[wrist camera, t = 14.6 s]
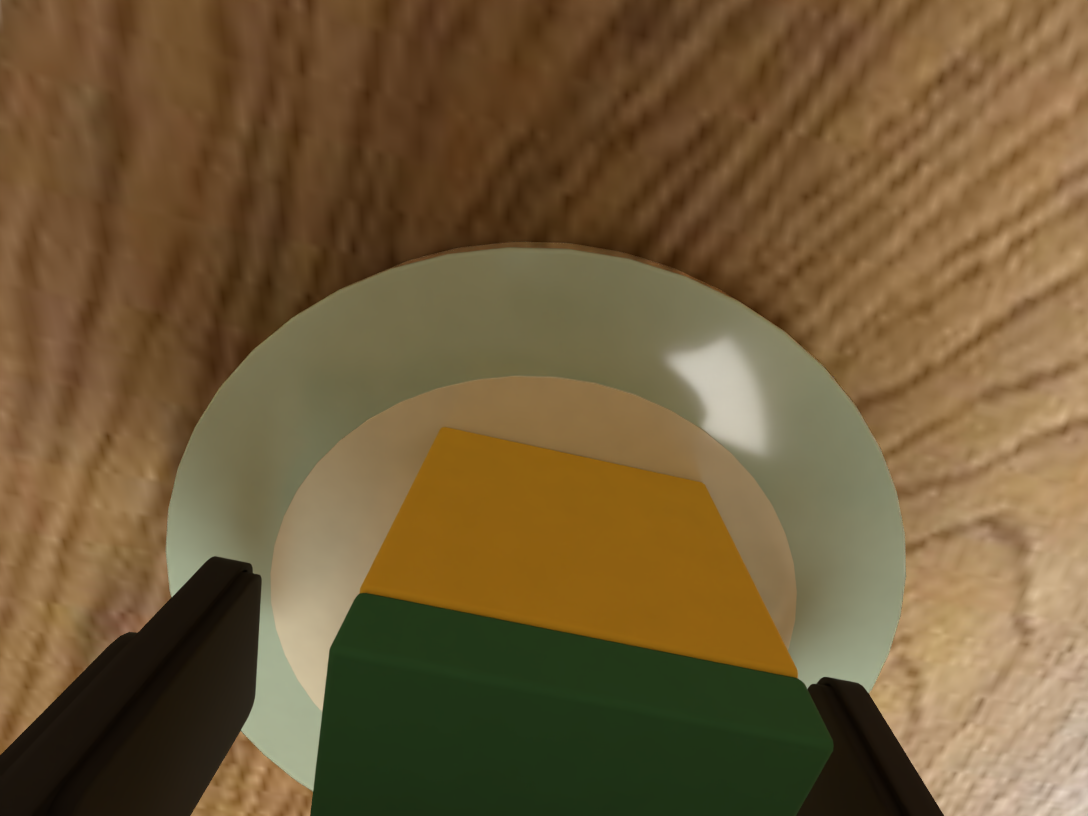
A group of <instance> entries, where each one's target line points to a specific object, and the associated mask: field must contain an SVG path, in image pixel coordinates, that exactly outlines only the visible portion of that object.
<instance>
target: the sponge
mask: <svg viewBox="0 0 1088 816" xmlns="http://www.w3.org/2000/svg"><path fill="white" fill-rule="evenodd" d="M833 747H834V745H833V740H832V738H831V736H830V734H829V732H828V730H827V728H826V726H825V724H824V722H823V720H822V718H821V716H820V714H819V711H818V709H817V707H816V705H815V703H814V701H813V699H812V697H811V695H810V693H809V691H808V689H807V687H806V685H805V684H804V683H803V682H802V681H801V680H799V679H798V670H797V668H796V666H795V664H794V662H793V660H792V658H791V656H790V654H789V652H788V650H787V648H786V646H785V644H784V642H783V640H782V638H781V636H780V634H779V632H778V630H777V628H776V626H775V624H774V622H773V620H772V618H771V616H770V614H769V612H768V610H767V608H766V606H765V604H764V602H763V600H762V598H761V596H760V594H759V592H758V590H757V588H756V586H755V584H754V582H753V580H752V578H751V576H750V574H749V572H748V570H747V568H746V566H745V564H744V562H743V560H742V558H741V556H740V554H739V552H738V550H737V548H736V546H735V544H734V542H733V540H732V538H731V536H730V534H729V532H728V530H727V528H726V526H725V524H724V522H723V520H722V518H721V516H720V514H719V512H718V510H717V508H716V506H715V504H714V502H713V500H712V498H711V496H710V494H709V492H708V490H707V488H706V486H705V484H703V483H702V482H698V481H693V480H689V479H684V478H679V477H675V476H670V475H665V474H661V473H656V472H652V471H647V470H642V469H638V468H633V467H628V466H624V465H619V464H614V463H610V462H605V461H601V460H596V459H591V458H587V457H582V456H577V455H573V454H568V453H564V452H559V451H554V450H550V449H545V448H540V447H536V446H531V445H526V444H522V443H517V442H513V441H508V440H503V439H499V438H494V437H489V436H485V435H480V434H475V433H471V432H466V431H462V430H457V429H452V428H448V427H442V428H441V429H440V430H439V432H438V434H437V436H436V438H435V440H434V442H433V444H432V446H431V448H430V450H429V452H428V454H427V456H426V458H425V460H424V462H423V464H422V466H421V468H420V470H419V472H418V474H417V476H416V478H415V480H414V482H413V484H412V486H411V488H410V490H409V492H408V494H407V496H406V498H405V500H404V502H403V504H402V506H401V508H400V510H399V512H398V514H397V516H396V518H395V520H394V522H393V524H392V526H391V528H390V530H389V532H388V534H387V536H386V538H385V540H384V542H383V544H382V546H381V548H380V550H379V552H378V554H377V556H376V558H375V560H374V562H373V564H372V566H371V568H370V570H369V572H368V574H367V576H366V578H365V580H364V582H363V584H362V586H361V588H360V592H359V594H358V595H357V597H356V598H355V599H354V601H353V603H352V605H351V607H350V609H349V611H348V613H347V615H346V617H345V619H344V621H343V623H342V625H341V627H340V629H339V631H338V633H337V635H336V637H335V639H334V641H333V643H332V645H331V647H330V650H329V658H328V667H327V676H326V684H325V693H324V702H323V710H322V719H321V728H320V736H319V745H318V754H317V762H316V771H315V780H314V788H313V797H312V806H311V814H310V816H796V815H797V813H798V811H799V810H800V808H801V806H802V804H803V803H804V801H805V799H806V797H807V796H808V794H809V792H810V790H811V789H812V787H813V785H814V783H815V782H816V780H817V778H818V776H819V775H820V773H821V771H822V769H823V768H824V766H825V764H826V762H827V761H828V759H829V757H830V755H831V754H832V752H833Z"/></svg>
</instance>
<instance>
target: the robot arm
mask: <svg viewBox="0 0 1088 816" xmlns="http://www.w3.org/2000/svg"><path fill="white" fill-rule="evenodd" d="M261 586H262V578H261V575H259V574H254V573H253V567H252V565H251V564H250V563H247V562H242V561H237V560H232V559H227V558H222V557H217V556H214V557H211V558H210V559H209V560H207V561H206V562H205V563H204V564H203V565H202V566H201V567H200V568H199V569H198V571H197V572H196V573H195V574H194V575H193V576H192V577H191V578H190V579H189V580H188V581H187V582H186V583H185V584H184V585H183V586H182V587H181V588H180V589H179V590H178V591H177V592H176V594H175V595H174V596H173V597H172V598H171V599H170V600H169V601H168V602H167V603H166V604H165V605H164V606H163V607H162V608H161V609H160V610H159V611H158V612H157V613H156V614H155V616H154V617H153V618H152V619H151V620H150V621H149V622H148V623H147V624H146V625H145V626H144V627H143V628H142V629H141V630H140V631H139V632H138V633H134V632H128V633H126V634H124V635H122V636H120V637H119V638H117V639H116V640H115V641H114V642H113V643H112V644H110V645H109V646H108V647H107V648H106V649H105V650H104V651H103V652H102V653H101V654H100V655H99V656H98V657H97V658H96V659H95V660H94V661H93V662H92V663H91V664H90V665H89V666H88V667H87V669H86V670H85V671H84V672H83V673H82V674H81V675H80V676H79V677H78V678H77V679H76V680H75V681H74V682H73V683H72V684H71V685H70V686H69V687H68V688H67V689H66V690H65V691H64V692H63V693H62V694H61V695H60V696H59V697H58V698H57V699H56V700H55V701H54V702H53V703H52V704H51V705H50V706H49V707H48V708H47V709H46V710H45V711H44V712H43V713H42V714H41V715H40V716H39V717H38V718H37V719H36V720H35V721H34V722H33V723H32V724H31V725H30V726H29V727H28V728H27V729H26V730H25V731H24V732H23V733H22V734H21V735H20V736H19V737H18V738H17V739H16V740H15V741H14V742H13V743H12V744H11V745H10V746H9V747H8V748H7V749H6V750H5V751H4V752H3V753H2V754H1V755H0V816H190V815H191V814H192V812H193V810H194V808H195V807H196V805H197V803H198V802H199V800H200V798H201V797H202V795H203V793H204V792H205V790H206V788H207V786H208V785H209V783H210V781H211V780H212V778H213V776H214V775H215V773H216V771H217V770H218V768H219V766H220V764H221V763H222V761H223V759H224V758H225V756H226V754H227V753H228V751H229V749H230V748H231V746H232V744H233V742H234V741H235V739H236V737H237V736H238V734H239V732H240V731H241V729H242V727H243V726H244V724H245V722H246V720H247V718H248V717H249V714H250V712H251V710H252V707H253V704H254V700H255V694H256V677H257V659H258V641H259V622H260V604H261ZM808 691H809V693H810V695H811V697H812V699H813V701H814V703H815V705H816V707H817V709H818V711H819V714H820V716H821V718H822V720H823V722H824V724H825V726H826V728H827V730H828V732H829V734H830V736H831V738H832V740H833V745H834V747H833V752H832V754H831V755H830V757H829V759H828V761H827V762H826V764H825V766H824V768H823V769H822V771H821V773H820V775H819V776H818V778H817V780H816V782H815V783H814V785H813V787H812V789H811V790H810V792H809V794H808V796H807V797H806V799H805V801H804V803H803V804H802V806H801V808H800V810H799V811H798V813H797V815H796V816H944V815H943V813H942V812H941V810H940V808H939V807H938V805H937V804H936V802H935V800H934V799H933V797H932V795H931V794H930V792H929V791H928V789H927V787H926V786H925V784H924V783H923V781H922V779H921V778H920V776H919V774H918V773H917V771H916V770H915V768H914V766H913V765H912V763H911V761H910V760H909V758H908V757H907V755H906V753H905V752H904V750H903V748H902V747H901V745H900V744H899V742H898V740H897V739H896V737H895V736H894V734H893V732H892V731H891V729H890V727H889V726H888V724H887V723H886V721H885V719H884V718H883V716H882V714H881V713H880V711H879V710H878V708H877V706H876V705H875V703H874V701H873V700H872V698H871V697H870V695H869V693H868V692H867V690H866V689H865V688H864V687H863V686H862V685H861V684H859V683H856V682H851V681H846V680H841V679H836V678H831V677H823V678H821V679H820V680H819V681H818V682H817V684H811V685H810V686H809V687H808Z"/></svg>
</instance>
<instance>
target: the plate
mask: <svg viewBox="0 0 1088 816" xmlns="http://www.w3.org/2000/svg"><path fill="white" fill-rule="evenodd" d="M442 427H448V428H452V429H457V430H462V431H466V432H471V433H475V434H480V435H485V436H489V437H494V438H499V439H503V440H508V441H513V442H517V443H522V444H526V445H531V446H536V447H540V448H545V449H550V450H554V451H559V452H564V453H568V454H573V455H577V456H582V457H587V458H591V459H596V460H601V461H605V462H610V463H614V464H619V465H624V466H628V467H633V468H638V469H642V470H647V471H652V472H656V473H661V474H665V475H670V476H675V477H679V478H684V479H689V480H693V481H698V482H702V483H703V484H705V486H706V488H707V490H708V492H709V494H710V496H711V498H712V500H713V502H714V504H715V506H716V508H717V510H718V512H719V514H720V516H721V518H722V520H723V522H724V524H725V526H726V528H727V530H728V532H729V534H730V536H731V538H732V540H733V542H734V544H735V546H736V548H737V550H738V552H739V554H740V556H741V558H742V560H743V562H744V564H745V566H746V568H747V570H748V572H749V574H750V576H751V578H752V580H753V582H754V584H755V586H756V588H757V590H758V592H759V594H760V596H761V598H762V600H763V602H764V604H765V606H766V608H767V610H768V612H769V614H770V616H771V618H772V620H773V622H774V624H775V626H776V628H777V630H778V632H779V634H780V636H781V638H782V640H783V642H784V644H785V646H786V648H787V650H788V652H789V654H790V656H791V658H792V660H793V662H794V664H795V666H796V668H797V670H798V679H799V680H801V681H802V682H803V683H804V684H805V685H806V687H807V689H808V687H809V686H810V685H811V684H817V682H818V681H819V680H820V679H821V678H823V677H831V678H836V679H841V680H846V681H851V682H856V683H859V684H861V685H862V686H863V687H864V688H865V689H866V690H867V692H868V693H870V692H871V690H872V688H873V686H874V684H875V682H876V680H877V678H878V676H879V674H880V672H881V669H882V667H883V665H884V663H885V661H886V659H887V657H888V655H889V652H890V649H891V645H892V642H893V639H894V636H895V632H896V629H897V626H898V623H899V619H900V616H901V609H902V601H903V594H904V587H905V580H906V555H905V532H904V527H903V522H902V517H901V511H900V506H899V501H898V496H897V491H896V488H895V485H894V482H893V480H892V477H891V474H890V472H889V469H888V466H887V464H886V461H885V459H884V456H883V453H882V451H881V448H880V446H879V444H878V443H877V441H876V439H875V437H874V436H873V434H872V432H871V430H870V429H869V427H868V425H867V424H866V422H865V420H864V418H863V417H862V415H861V413H860V411H859V410H858V408H857V406H856V405H855V404H854V402H853V401H852V400H851V399H850V398H849V396H848V395H847V394H846V393H845V391H844V390H843V389H842V388H841V387H840V385H839V384H838V383H837V382H836V380H835V379H834V378H833V377H832V376H831V374H830V373H829V372H828V371H827V369H826V368H825V367H824V366H823V365H822V364H821V363H820V362H818V361H817V360H816V359H815V358H814V357H813V356H812V355H811V354H809V353H808V352H807V351H806V350H805V349H804V348H803V347H802V346H801V345H799V344H798V343H797V342H796V341H795V340H794V339H793V338H792V337H791V336H789V335H788V334H787V333H786V332H785V331H783V330H782V329H780V328H779V327H777V326H776V325H774V324H773V323H771V322H770V321H768V320H767V319H765V318H764V317H762V316H761V315H759V314H758V313H756V312H755V311H753V310H752V309H750V308H749V307H747V306H746V305H744V304H742V303H741V302H739V301H738V300H736V299H735V298H733V297H731V296H730V295H728V294H726V293H725V292H723V291H721V290H720V289H717V288H715V287H713V286H711V285H709V284H707V283H705V282H703V281H700V280H698V279H696V278H694V277H692V276H690V275H688V274H686V273H683V272H681V271H679V270H677V269H675V268H673V267H669V266H666V265H663V264H660V263H656V262H653V261H650V260H647V259H644V258H640V257H637V256H634V255H631V254H627V253H624V252H620V251H614V250H608V249H602V248H596V247H590V246H584V245H578V244H571V243H552V242H514V241H513V242H504V243H495V244H486V245H477V246H468V247H459V248H455V249H451V250H447V251H443V252H440V253H436V254H432V255H428V256H424V257H420V258H416V259H412V260H408V261H406V262H403V263H401V264H398V265H396V266H393V267H391V268H389V269H386V270H384V271H381V272H379V273H376V274H374V275H372V276H369V277H367V278H364V279H362V280H359V281H357V282H355V283H353V284H350V285H348V286H346V287H344V288H341V289H339V290H337V291H336V292H334V293H332V294H331V295H329V296H327V297H326V298H324V299H322V300H321V301H319V302H317V303H316V304H314V305H312V306H310V307H309V308H307V309H305V310H304V311H302V312H300V313H299V314H297V315H295V316H294V317H292V318H291V319H290V320H288V321H287V322H286V323H285V324H284V325H282V326H281V327H280V328H279V329H277V330H276V331H275V332H274V333H273V334H271V335H270V336H269V337H268V338H266V339H265V340H264V341H263V342H262V343H260V344H259V345H258V346H257V347H256V348H254V349H253V350H252V351H251V352H250V353H249V355H248V356H247V357H246V358H245V359H244V360H243V361H242V362H241V364H240V365H239V366H238V367H237V368H236V369H235V370H234V371H233V373H232V374H231V375H230V376H229V377H228V378H227V379H226V380H225V382H224V383H223V384H222V385H221V386H220V388H219V389H218V391H217V392H216V394H215V395H214V397H213V399H212V400H211V402H210V403H209V405H208V407H207V408H206V410H205V411H204V413H203V415H202V416H201V418H200V419H199V421H198V422H197V424H196V426H195V428H194V430H193V433H192V435H191V438H190V440H189V442H188V445H187V447H186V450H185V452H184V454H183V457H182V459H181V462H180V464H179V466H178V470H177V474H176V478H175V482H174V487H173V491H172V495H171V500H170V504H169V508H168V521H167V536H166V559H167V569H168V580H169V590H170V594H171V598H172V597H173V596H174V595H175V594H176V592H177V591H178V590H179V589H180V588H181V587H182V586H183V585H184V584H185V583H186V582H187V581H188V580H189V579H190V578H191V577H192V576H193V575H194V574H195V573H196V572H197V571H198V569H199V568H200V567H201V566H202V565H203V564H204V563H205V562H206V561H207V560H209V559H210V558H211V557H214V556H217V557H222V558H227V559H232V560H237V561H242V562H247V563H250V564H251V565H252V567H253V573H254V574H259V575H261V578H262V586H261V604H260V622H259V641H258V659H257V677H256V694H255V700H254V704H253V707H252V710H251V712H250V714H249V717H248V718H247V720H246V722H245V724H244V726H243V727H242V729H241V732H242V733H243V734H244V735H245V736H246V737H247V738H248V739H249V740H250V741H251V742H252V743H253V744H254V745H255V746H256V747H257V748H258V749H259V750H260V751H261V752H262V753H263V754H264V755H265V756H266V757H267V758H269V759H270V760H271V761H272V762H273V763H275V764H276V765H277V766H278V767H280V768H281V769H282V770H283V771H284V772H286V773H287V774H288V775H289V776H291V777H292V778H293V779H294V780H296V781H297V782H299V783H300V784H302V785H304V786H305V787H307V788H308V789H310V790H311V791H313V788H314V780H315V771H316V762H317V754H318V745H319V736H320V728H321V719H322V710H323V702H324V693H325V684H326V676H327V667H328V658H329V650H330V647H331V645H332V643H333V641H334V639H335V637H336V635H337V633H338V631H339V629H340V627H341V625H342V623H343V621H344V619H345V617H346V615H347V613H348V611H349V609H350V607H351V605H352V603H353V601H354V599H355V598H356V597H357V595H358V594H359V592H360V588H361V586H362V584H363V582H364V580H365V578H366V576H367V574H368V572H369V570H370V568H371V566H372V564H373V562H374V560H375V558H376V556H377V554H378V552H379V550H380V548H381V546H382V544H383V542H384V540H385V538H386V536H387V534H388V532H389V530H390V528H391V526H392V524H393V522H394V520H395V518H396V516H397V514H398V512H399V510H400V508H401V506H402V504H403V502H404V500H405V498H406V496H407V494H408V492H409V490H410V488H411V486H412V484H413V482H414V480H415V478H416V476H417V474H418V472H419V470H420V468H421V466H422V464H423V462H424V460H425V458H426V456H427V454H428V452H429V450H430V448H431V446H432V444H433V442H434V440H435V438H436V436H437V434H438V432H439V430H440V429H441V428H442Z"/></svg>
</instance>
